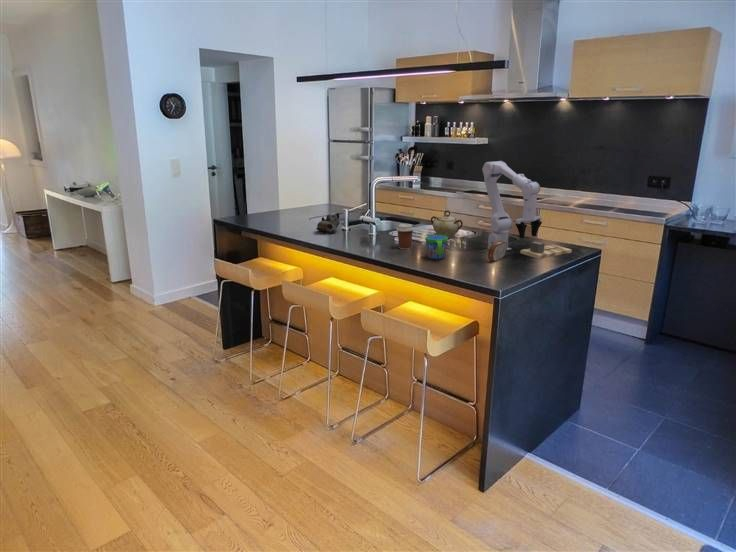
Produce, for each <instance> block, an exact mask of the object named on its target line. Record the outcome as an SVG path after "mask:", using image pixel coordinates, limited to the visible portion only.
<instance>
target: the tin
mask: <svg viewBox="0 0 736 552" xmlns="http://www.w3.org/2000/svg"><path fill="white" fill-rule="evenodd" d="M506 247H507V244H506V242H504V241H498V242H495V243H493V244H492V245H491V246H490V248H489V249H488V253H487V259H488V261H490V262H491V261H492V262H497V261H499V260H501V259H503V258H504V257H505V256H506V253H507V250H506Z"/></svg>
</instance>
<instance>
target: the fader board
mask: <svg viewBox="0 0 736 552" xmlns="http://www.w3.org/2000/svg"><path fill="white" fill-rule="evenodd" d="M572 250H573V249H571V248H567V247H564V246H560V245H557V244H549V245H544V252H539V253H537V252H533V251H530V248H523V249H521V250H520V251H519V253H520V254H522V255H524V256H527V257H532V258H534V259H538V260H539V259H544V258H550V257H556V256H560V255H561V256H562V255H565V254H571V253H572V252H573V251H572Z"/></svg>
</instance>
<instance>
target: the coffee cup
mask: <svg viewBox="0 0 736 552" xmlns="http://www.w3.org/2000/svg"><path fill="white" fill-rule="evenodd" d="M395 231H397V239H398V240H397V241H398V249H399V248H400V249H399V250H404V249H406V250H410V248H411V249H412V242H413V231H415V228H414V227H413V225H412V224H410V223H401V224H398V226H397V227H396V230H395Z"/></svg>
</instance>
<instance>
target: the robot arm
mask: <svg viewBox="0 0 736 552" xmlns="http://www.w3.org/2000/svg"><path fill="white" fill-rule="evenodd" d="M481 170H482V175H483V177H484V178H483V179H484V186H485V189H486V193H487V196H488V200H489V203H490V207H491V210H492V214H493V215H492V216H491V217H490V229H491V230H492V232H491V233H490V234H489V235H488V240H487V247H486V249H487V250H489V248H490V246H491V245H492V244H493V243H495V242H498V241H504V242H506V244H507V247H506V251H510V250H512V248H511V247H509V234H510V233H509V232H510V230H511V229H512V228H513V226H514V225H513V223H514V222H513V220H512V218H511V217H510V214H508V212H505V208H504V206H503V201H502V198H501V195H500V191H499V187H498V183H497V181H498V180H499V178H500V177H501V176H502V175H503V176H505V177H506V178H507V179H509V180H510V181H512V185H514V186H515V187H516V188H518V189H520V190H521V193H522V198H523V206H522V209H523V210H522V217H520V218H516V220H515V226H516V228H517V231H518V235H519V238H520V239H525V237H526V229H527V227H528V224H526V223H529V224H530V227H531V229H530V230H531V231H530V232H531V236H532V237H536V236H537V234H538V231H539V228H540V227H541V225H542V223H543V221H542V218H543V217H542V215H541V216H540V215H536V214H537V202H538V201H537V199H538V194H540V191H541V185H540V184H539V183H538V182H537V181H532V179H528V178H527V177H526V176H525V174H524V173H516V172H515V171H514V170H512V168H511V167H509V166H508V165H507V163H506V162H505V161H503V160H498V161H497V160H496V161H495V160H494V161H486V162H485V163H484V164H483V166H482V169H481Z"/></svg>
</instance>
